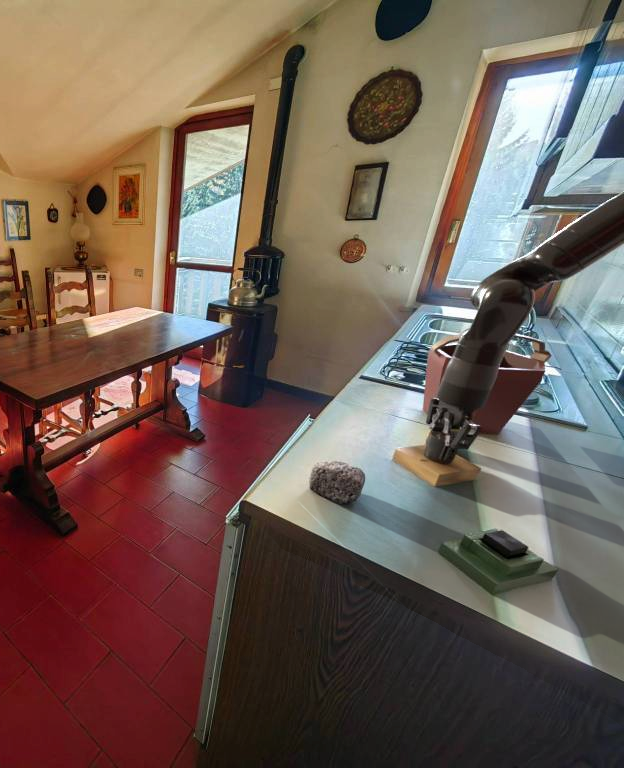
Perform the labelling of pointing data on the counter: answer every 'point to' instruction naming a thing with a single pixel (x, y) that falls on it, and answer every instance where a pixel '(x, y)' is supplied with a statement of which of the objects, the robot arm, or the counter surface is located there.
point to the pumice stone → (337, 481)
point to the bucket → (508, 389)
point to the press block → (495, 564)
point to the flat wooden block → (435, 467)
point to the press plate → (504, 544)
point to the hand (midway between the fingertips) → (437, 453)
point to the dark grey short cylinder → (435, 446)
